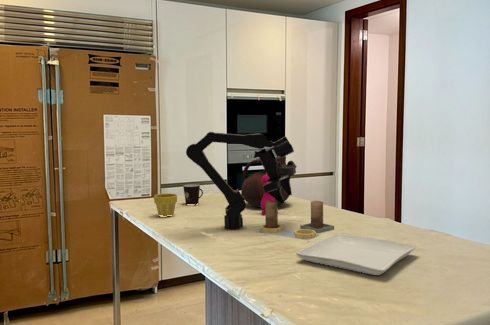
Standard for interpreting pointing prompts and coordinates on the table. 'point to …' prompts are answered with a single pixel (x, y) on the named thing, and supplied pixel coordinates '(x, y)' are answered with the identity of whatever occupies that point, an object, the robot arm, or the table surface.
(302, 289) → the table surface
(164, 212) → the plant pot
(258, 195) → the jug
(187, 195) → the coffee mug
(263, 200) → the pink bowling pin
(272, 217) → the cylinder
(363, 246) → the square plate
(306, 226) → the gray square tray
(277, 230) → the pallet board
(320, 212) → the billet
